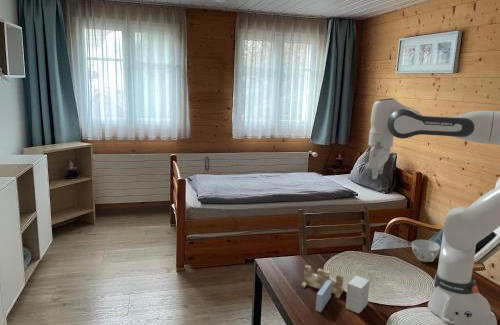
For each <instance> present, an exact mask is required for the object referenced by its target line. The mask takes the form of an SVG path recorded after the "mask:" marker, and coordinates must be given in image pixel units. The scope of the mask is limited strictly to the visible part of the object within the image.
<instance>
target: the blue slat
mask: <svg viewBox="0 0 500 325" xmlns="http://www.w3.org/2000/svg"><path fill="white" fill-rule="evenodd" d="M331 291H332V281H330V280H327V281H326V282H325V283H324V285H323V286H322V288H321V289H319V290H318V291H317V292H316V299H315V300H316V301H315V311H316V312H319V313H322V311H323V309H324V308H325V306H326V305H327V303H329V300H330V299H331V297H332V293H331Z"/></svg>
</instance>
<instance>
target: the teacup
mask: <svg viewBox="0 0 500 325" xmlns="http://www.w3.org/2000/svg"><path fill="white" fill-rule="evenodd" d="M411 248H412V249H411V250H412V252H413V254H414V256H415V257H416V259H417V260H419V261H420V262H422V263H429V262H434V261H435V259H436V258H437V257H438V256H439V255H440V250H441V245H440V244H438V243H436V242H435V241H431V240H428V239H415V240H413V241H411Z"/></svg>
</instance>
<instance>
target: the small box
mask: <svg viewBox="0 0 500 325" xmlns="http://www.w3.org/2000/svg"><path fill="white" fill-rule="evenodd" d="M370 282H371V281H370V279H367V278H365V277H362V276H359V275H355V276H354V277H353V278H352V279H351V280H350V281H349V282H348V283H347V285H346V286H347V287H346V288H347V289H346V300H345V309H347V310H349V311H351V312H354V313H356V314H360V313H361V312H362V311H363V310H364V309H365V308H366V306H368V301H369V294H370V293H369V291H370V284H371V283H370Z"/></svg>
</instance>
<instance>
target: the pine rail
mask: <svg viewBox="0 0 500 325" xmlns="http://www.w3.org/2000/svg"><path fill="white" fill-rule="evenodd" d="M316 272H317V273H313V272H312V265H308V264H306V265H305V266H304V269H303V281H302V282H301V284H300V287H301V288H303V289H304V288H306V287H307V286H309V287H311V288H315V289H319V290H320V289H321V288H322V286H323V285H324V283H325V282H326V281H327V280H330V281H332V291H331V294H334V298H336V299H339V298H340V297H341V295H342V294H343V293H344V291H345V287H343V286H344V274H340V273H337V274H336V276H335V277H336V278H335V279H334V278H330V272H331V271H330V270H325V269H322V268H318V269H317V270H316Z"/></svg>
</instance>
